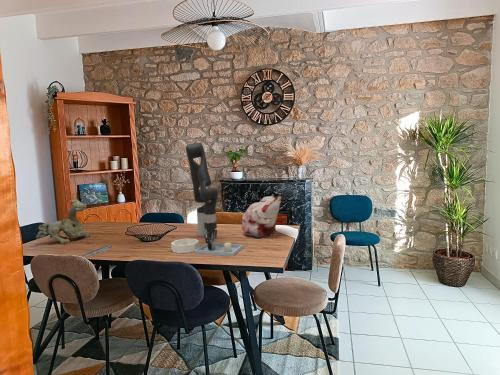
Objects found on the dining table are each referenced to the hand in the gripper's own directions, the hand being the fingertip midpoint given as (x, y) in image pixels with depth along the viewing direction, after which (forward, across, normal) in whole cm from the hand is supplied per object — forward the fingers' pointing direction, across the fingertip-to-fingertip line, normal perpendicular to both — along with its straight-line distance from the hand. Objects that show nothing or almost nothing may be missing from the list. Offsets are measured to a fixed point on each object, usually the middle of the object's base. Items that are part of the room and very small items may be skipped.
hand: (211, 248), depth 225 cm
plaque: (+2, +20, -70) cm, 72 cm away
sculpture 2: (+2, -48, +20) cm, 52 cm away
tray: (+2, 0, +5) cm, 6 cm away
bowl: (+2, +2, -17) cm, 17 cm away
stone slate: (0, 0, 0) cm, 0 cm away
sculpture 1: (+2, 0, -112) cm, 112 cm away
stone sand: (+1, 0, +11) cm, 11 cm away
